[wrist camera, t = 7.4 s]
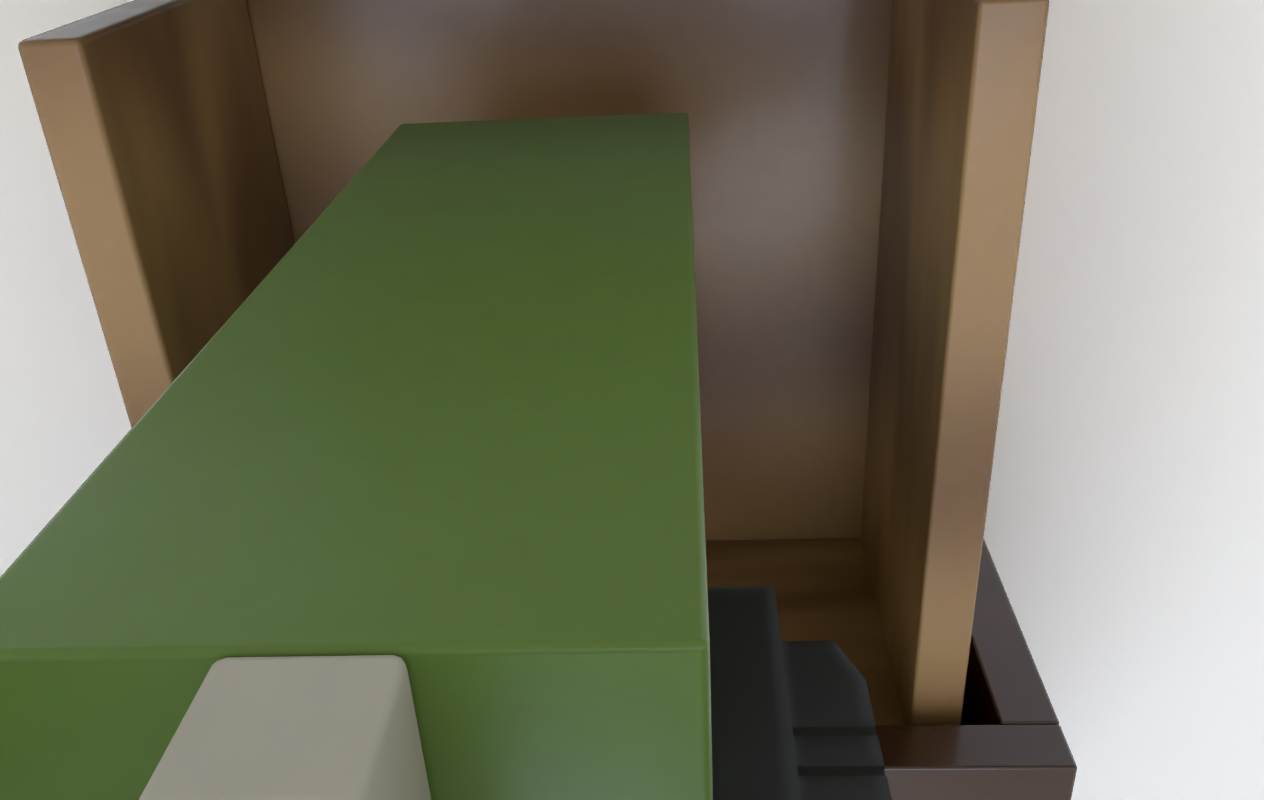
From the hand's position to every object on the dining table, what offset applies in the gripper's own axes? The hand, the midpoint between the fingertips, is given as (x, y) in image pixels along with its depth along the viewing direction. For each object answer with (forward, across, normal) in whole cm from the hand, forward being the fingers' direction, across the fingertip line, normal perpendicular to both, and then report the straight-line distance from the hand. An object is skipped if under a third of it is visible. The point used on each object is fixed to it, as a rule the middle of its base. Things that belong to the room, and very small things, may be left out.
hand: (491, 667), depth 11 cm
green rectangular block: (+7, 0, 0) cm, 7 cm away
